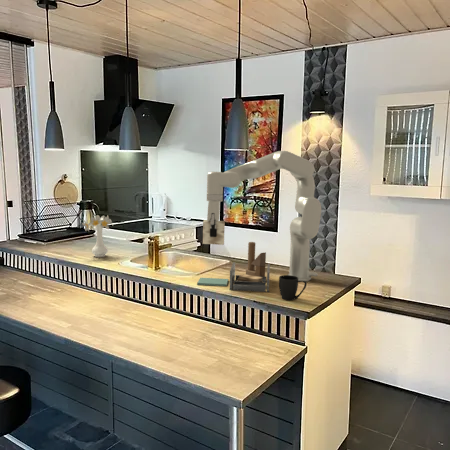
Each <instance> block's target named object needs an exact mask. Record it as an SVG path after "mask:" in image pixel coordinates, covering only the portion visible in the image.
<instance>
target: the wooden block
mask: <svg viewBox="0 0 450 450" xmlns="http://www.w3.org/2000/svg"><path fill="white" fill-rule="evenodd" d="M247 248H248V249H247V269H245V274H246V275H251V276H265V277H266V262H267V261H266V259H267V252H260V253H259V254H258V255H257V256H256V242H255V241H248V245H247Z"/></svg>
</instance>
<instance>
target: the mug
mask: <svg viewBox="0 0 450 450" xmlns="http://www.w3.org/2000/svg"><path fill="white" fill-rule="evenodd" d="M278 280H279V281H278V287H279V294H280V298H281V300H283V301H289V302H290V301H294V300H296V299H298V298H299V297H300V296H301V295H302V293H304V291H305V289H306V287H307V285H308V284H307V282H308V281H302V280H300V281H298V277H296V276H292V275H288V274H284V275H279V277H278ZM299 283H304V284H303V285H304V286H303V288H302V290H301V291H300V293H299V294H297V292H298V287H299Z"/></svg>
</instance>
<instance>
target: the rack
mask: <svg viewBox="0 0 450 450" xmlns="http://www.w3.org/2000/svg"><path fill="white" fill-rule="evenodd" d="M270 265H271V264H270V263H267V271H266V272H267V273H266V275H265V276H257V277H263V280H262V282H251V281H237V278H239V276H241V275H242V274H241V275H240V274H236V262H235V261H233V262H232V265H231V267H230V270H229V291H239V292H240V291H241V292H258V293H259V292H262V293H263V292H264V293H269V292H270V272H271V267H270Z"/></svg>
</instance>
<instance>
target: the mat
mask: <svg viewBox="0 0 450 450" xmlns="http://www.w3.org/2000/svg"><path fill="white" fill-rule="evenodd" d="M228 283H229V279H228V278H216V277H215V278H213V277H200V278H199V279H198V281H197V283H196V285H197V286H208V285H209V286H210V287H227V286H228Z"/></svg>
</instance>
